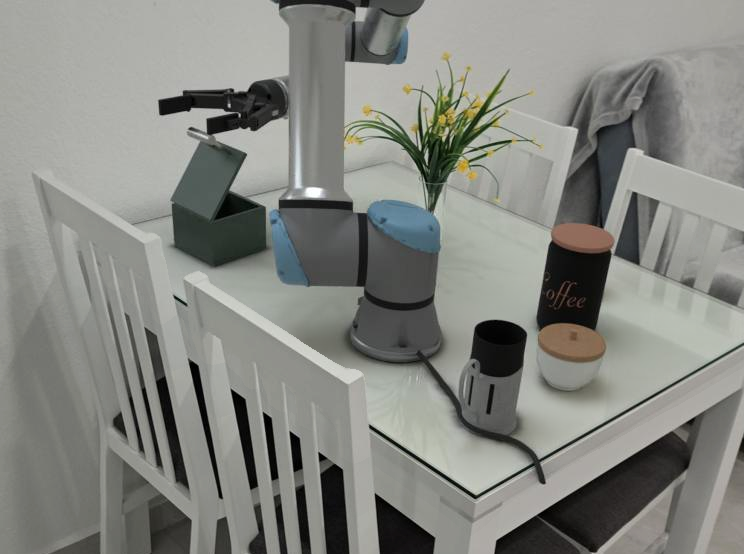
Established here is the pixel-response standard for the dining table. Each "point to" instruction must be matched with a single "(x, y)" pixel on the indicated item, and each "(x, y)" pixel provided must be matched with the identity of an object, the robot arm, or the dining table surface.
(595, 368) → the trinket box
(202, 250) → the bin
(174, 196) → the bin lid
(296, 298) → the dining table surface
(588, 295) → the coffee jar
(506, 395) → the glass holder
